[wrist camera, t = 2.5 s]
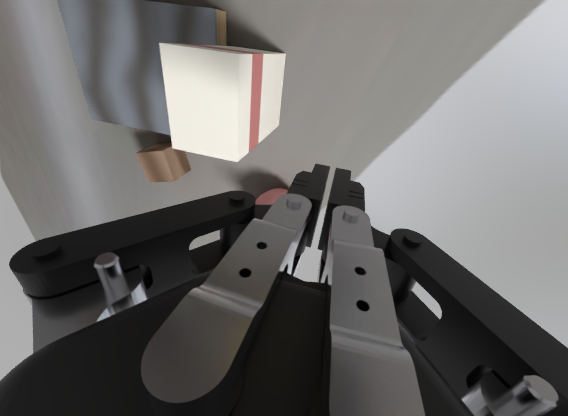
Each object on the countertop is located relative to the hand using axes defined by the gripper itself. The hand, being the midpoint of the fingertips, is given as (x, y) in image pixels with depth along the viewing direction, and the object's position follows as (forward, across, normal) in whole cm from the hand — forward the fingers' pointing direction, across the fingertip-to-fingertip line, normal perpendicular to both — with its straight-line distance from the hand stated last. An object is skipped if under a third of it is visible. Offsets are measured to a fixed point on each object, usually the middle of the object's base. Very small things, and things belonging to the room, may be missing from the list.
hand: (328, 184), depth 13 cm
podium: (+25, +28, 0) cm, 38 cm away
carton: (+25, +12, 0) cm, 28 cm away
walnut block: (+25, +27, +13) cm, 39 cm away
